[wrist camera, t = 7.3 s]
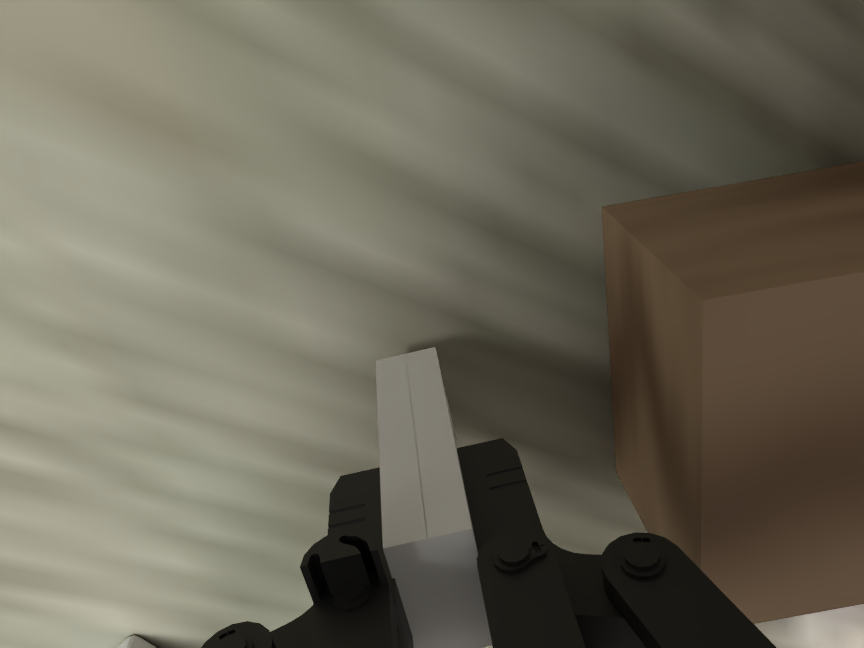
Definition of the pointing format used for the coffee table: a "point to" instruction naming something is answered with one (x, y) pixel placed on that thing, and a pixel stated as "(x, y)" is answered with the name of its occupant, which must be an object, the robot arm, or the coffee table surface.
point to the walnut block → (746, 382)
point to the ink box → (135, 643)
